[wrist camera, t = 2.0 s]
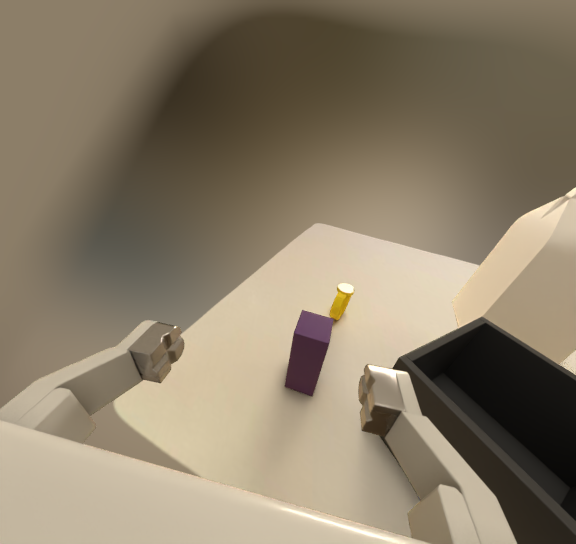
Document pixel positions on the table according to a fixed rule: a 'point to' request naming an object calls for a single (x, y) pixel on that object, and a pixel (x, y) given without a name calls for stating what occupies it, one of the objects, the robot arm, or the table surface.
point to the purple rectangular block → (308, 352)
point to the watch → (341, 300)
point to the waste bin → (505, 423)
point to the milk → (530, 281)
